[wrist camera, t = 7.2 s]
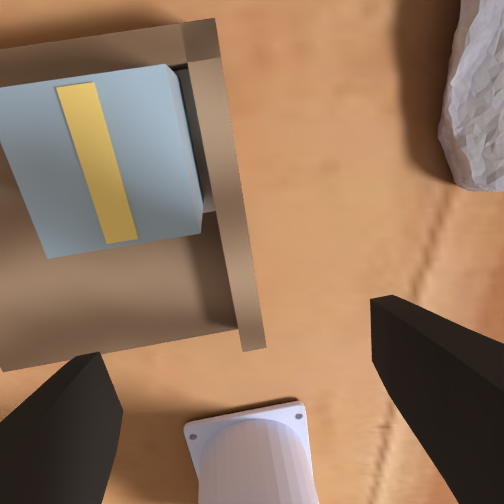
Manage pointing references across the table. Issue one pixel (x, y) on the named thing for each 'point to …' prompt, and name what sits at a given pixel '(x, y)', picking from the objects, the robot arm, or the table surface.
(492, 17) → the stone block
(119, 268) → the tray
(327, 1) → the table surface
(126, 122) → the cube
